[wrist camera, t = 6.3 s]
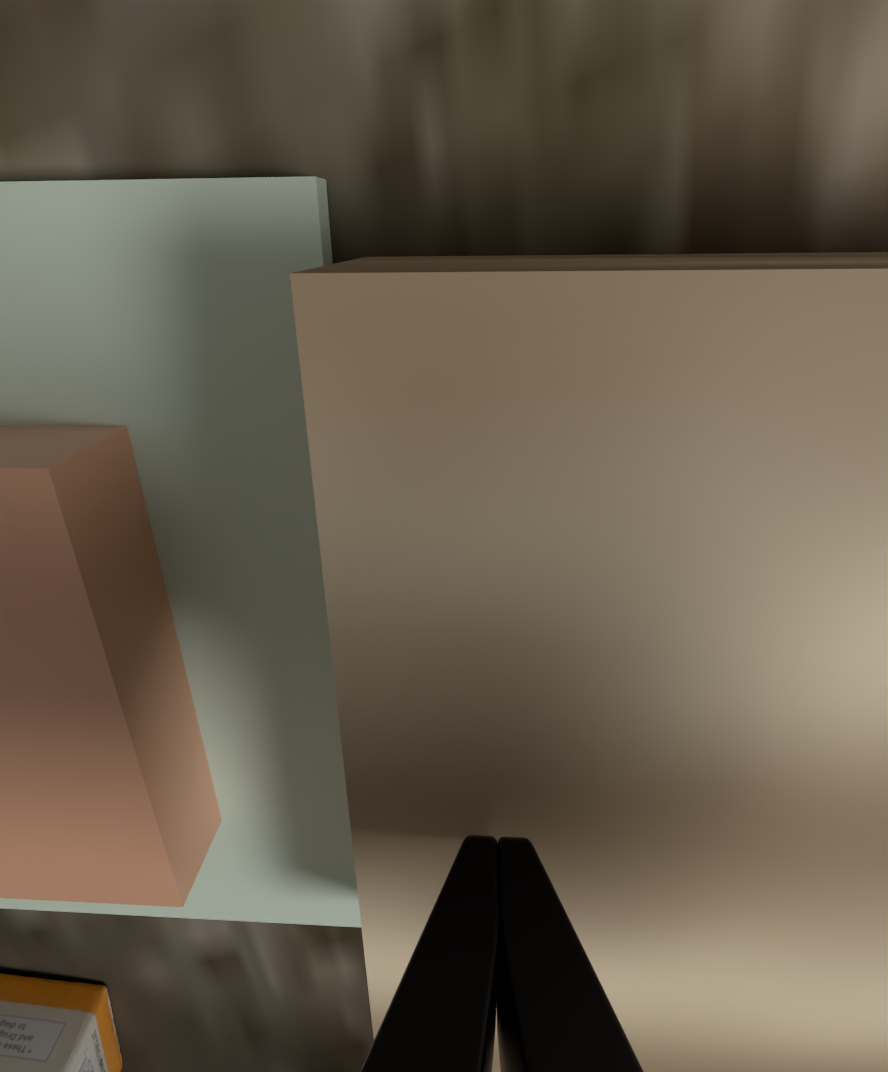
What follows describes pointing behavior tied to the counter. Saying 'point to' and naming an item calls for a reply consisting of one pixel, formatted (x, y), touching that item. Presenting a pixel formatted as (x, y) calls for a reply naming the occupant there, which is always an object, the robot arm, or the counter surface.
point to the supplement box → (56, 1026)
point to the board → (621, 621)
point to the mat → (204, 488)
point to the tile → (92, 683)
